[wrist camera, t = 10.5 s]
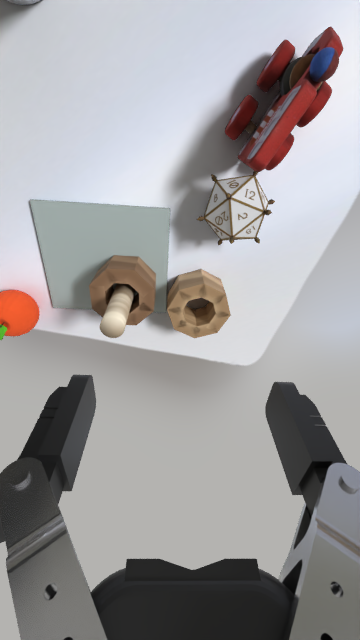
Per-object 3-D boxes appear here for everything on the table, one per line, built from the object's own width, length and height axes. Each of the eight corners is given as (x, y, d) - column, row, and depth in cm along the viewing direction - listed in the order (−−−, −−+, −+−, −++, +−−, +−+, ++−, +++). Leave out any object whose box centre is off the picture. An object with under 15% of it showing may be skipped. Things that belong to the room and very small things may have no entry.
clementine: (38, 330, 47) (18, 358, 41) (-5, 313, 45) (-33, 339, 39) (52, 295, 43) (32, 319, 37) (6, 274, 41) (-23, 296, 35)
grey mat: (31, 199, 35) (29, 200, 35) (170, 208, 36) (170, 209, 36) (54, 305, 44) (53, 307, 44) (165, 310, 45) (165, 312, 44)
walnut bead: (96, 254, 39) (86, 267, 35) (156, 257, 39) (154, 271, 35) (101, 306, 44) (93, 323, 39) (155, 308, 44) (153, 326, 40)
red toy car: (335, 75, 29) (403, 46, 21) (255, 181, 35) (283, 193, 26) (290, 22, 27) (346, -36, 18) (213, 144, 33) (227, 144, 24)
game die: (225, 213, 40) (216, 271, 37) (193, 168, 34) (178, 231, 31) (287, 191, 35) (283, 256, 31) (262, 132, 29) (253, 204, 25)
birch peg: (117, 274, 41) (98, 317, 31) (136, 275, 41) (123, 318, 31) (118, 291, 42) (100, 337, 32) (136, 292, 42) (124, 338, 32)
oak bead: (162, 279, 42) (161, 294, 38) (217, 264, 41) (222, 278, 36) (178, 324, 46) (178, 342, 42) (228, 311, 45) (233, 328, 41)
